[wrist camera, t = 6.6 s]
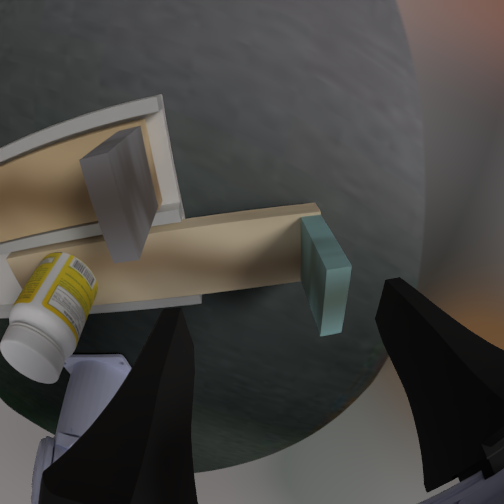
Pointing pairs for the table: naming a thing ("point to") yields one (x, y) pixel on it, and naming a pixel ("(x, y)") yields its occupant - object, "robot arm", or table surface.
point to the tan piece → (218, 260)
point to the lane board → (171, 211)
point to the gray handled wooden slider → (85, 188)
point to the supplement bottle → (49, 317)
